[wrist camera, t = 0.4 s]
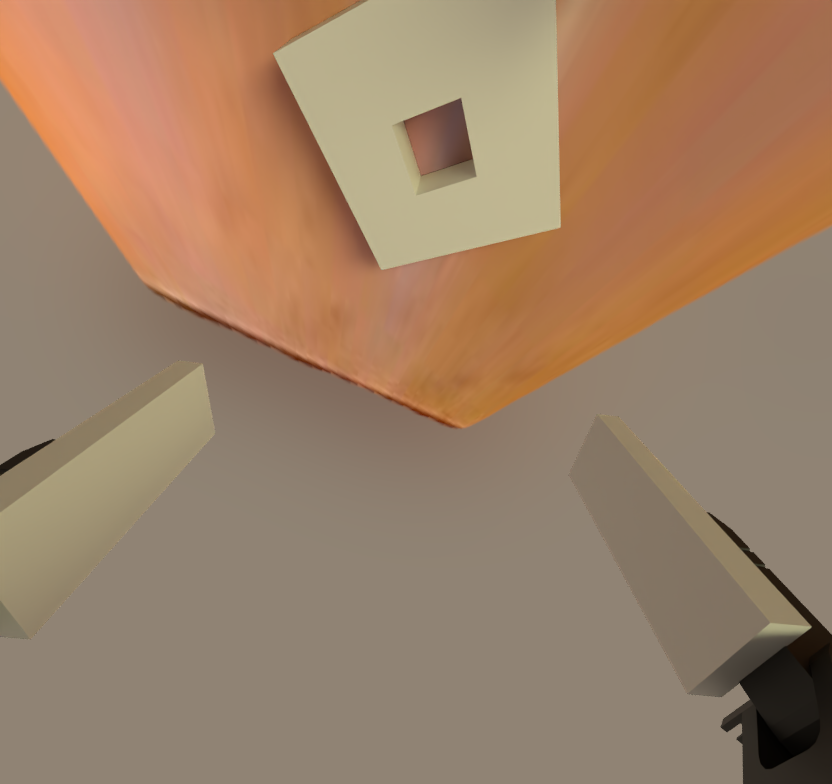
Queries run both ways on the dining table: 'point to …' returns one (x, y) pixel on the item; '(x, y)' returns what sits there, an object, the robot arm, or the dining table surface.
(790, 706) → the robot arm
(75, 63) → the dining table surface
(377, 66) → the hole plate
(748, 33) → the dining table surface
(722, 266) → the dining table surface
